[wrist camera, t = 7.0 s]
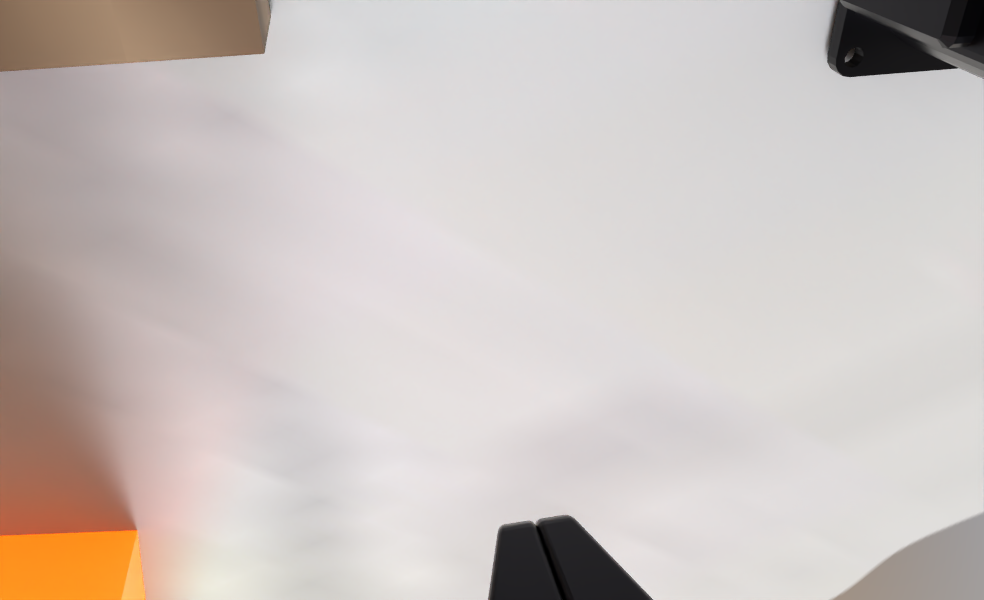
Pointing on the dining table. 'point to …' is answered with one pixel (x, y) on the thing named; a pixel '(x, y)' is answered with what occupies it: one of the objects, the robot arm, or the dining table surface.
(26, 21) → the socket block
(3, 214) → the dining table surface
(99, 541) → the orange juice
